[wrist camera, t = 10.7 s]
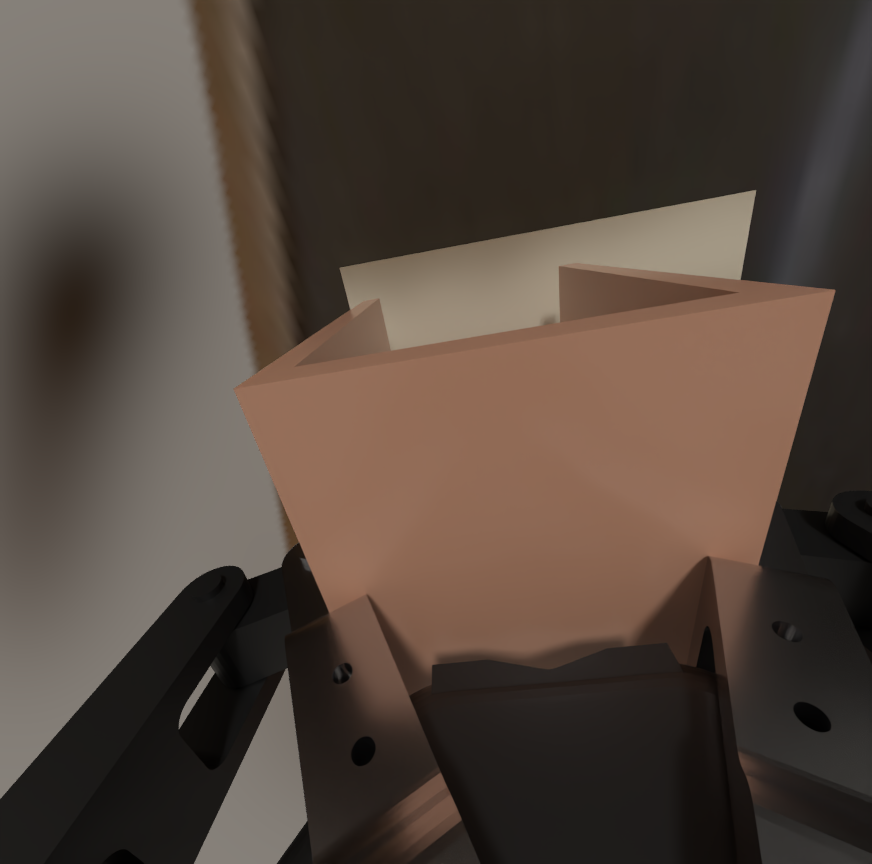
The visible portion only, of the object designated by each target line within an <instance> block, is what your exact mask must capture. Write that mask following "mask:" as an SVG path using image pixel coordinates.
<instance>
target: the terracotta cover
mask: <svg viewBox="0 0 872 864" xmlns="http://www.w3.org/2000/svg"><path fill="white" fill-rule="evenodd" d="M834 294H835V290H831V289H821V288H812V287H802V286H793V285H783V284H773V283H764V282H754V281H745V280H735V279H726V278H716V277H707V276H697V275H688V274H678V273H668V272H659V271H649V270H640V269H630V268H621V267H611V266H602V265H592V264H583V263H572V264H567V265H561V266H559V304H560V323H554V324H548V325H542V326H536V327H530V328H524V329H518V330H512V331H506V332H500V333H494V334H488V335H482V336H476V337H470V338H464V339H458V340H452V341H446V342H440V343H434V344H428V345H422V346H416V347H410V348H404V349H398V350H392V351H391V348H390V344H389V339H388V335H387V330H386V326H385V321H384V317H383V312H382V308H381V303H380V299H379V298H377V299H372V300H366V301H363V302H361V303H360V304H358V305H357V306H355V307H354V308H352V309H351V310H349V311H348V312H346V313H345V314H343V315H342V316H340V317H339V318H337V319H336V320H335V321H333V322H332V323H330V324H329V325H327V326H326V327H324V328H323V329H321V330H320V331H318V332H317V333H315V334H314V335H312V336H311V337H309V338H308V339H306V340H305V341H303V342H302V343H301V344H299V345H298V346H296V347H295V348H293V349H292V350H290V351H289V352H287V353H286V354H284V355H283V356H281V357H280V358H278V359H277V360H275V361H274V362H272V363H271V364H269V365H268V366H267V367H265V368H264V369H262V370H261V371H259V372H258V373H256V374H255V375H253V376H252V377H250V378H249V379H247V380H246V381H244V382H243V383H241V384H240V385H238V386H237V387H235V388H234V391H235V393H236V396H237V398H238V400H239V403H240V405H241V407H242V410H243V412H244V414H245V417H246V419H247V421H248V424H249V426H250V428H251V431H252V433H253V435H254V438H255V440H256V443H257V445H258V447H259V450H260V452H261V454H262V456H263V459H264V461H265V463H266V466H267V468H268V471H269V473H270V475H271V477H272V480H273V482H274V485H275V487H276V489H277V492H278V494H279V496H280V499H281V501H282V503H283V506H284V508H285V510H286V513H287V515H288V517H289V520H290V522H291V524H292V527H293V529H294V531H295V534H296V536H297V538H298V541H299V543H300V545H301V548H302V550H303V552H304V555H305V557H306V559H307V562H308V564H309V566H310V569H311V571H312V573H313V576H314V578H315V580H316V583H317V585H318V587H319V590H320V592H321V594H322V597H323V599H324V601H325V604H326V606H327V608H328V611H329V613H330V612H332V611H334V610H336V609H338V608H340V607H342V606H344V605H346V604H348V603H350V602H352V601H353V600H355V599H357V598H359V597H361V596H363V595H365V594H366V595H367V597H368V599H369V601H370V604H371V606H372V609H373V611H374V613H375V616H376V618H377V621H378V623H379V625H380V628H381V630H382V632H383V635H384V637H385V640H386V642H387V644H388V647H389V649H390V652H391V654H392V656H393V659H394V661H395V664H396V666H397V668H398V671H399V673H400V676H401V678H402V680H403V683H404V685H405V688H406V690H407V692H408V695H409V696H410V695H411V694H413V693H415V692H417V691H419V690H421V689H422V688H425V687H427V686H430V685H432V665H435V664H446V663H456V662H467V661H477V660H493V661H499V662H505V663H511V664H517V665H524V666H530V667H536V668H542V669H554V668H557V667H560V666H562V665H565V664H567V663H570V662H573V661H575V660H578V659H580V658H583V657H586V656H588V655H591V654H593V653H596V652H599V651H601V650H604V649H606V648H615V647H626V646H636V645H647V644H657V643H667V644H668V645H669V647H670V649H671V651H672V652H673V654H674V656H675V658H676V659H677V661H678V663H679V664H685V665H687V660H688V655H689V649H690V644H691V639H692V634H693V629H694V624H695V619H696V614H697V609H698V604H699V599H700V594H701V589H702V584H703V579H704V574H705V569H706V564H707V559H708V556H712V557H717V558H722V559H728V560H733V561H738V562H743V563H749V564H754V565H758V564H759V561H760V557H761V554H762V550H763V547H764V543H765V539H766V536H767V532H768V529H769V525H770V522H771V518H772V514H773V511H774V507H775V504H776V500H777V497H778V493H779V490H780V486H781V482H782V479H783V475H784V472H785V468H786V465H787V461H788V458H789V454H790V450H791V447H792V443H793V440H794V436H795V433H796V429H797V425H798V422H799V418H800V415H801V411H802V408H803V404H804V401H805V397H806V393H807V390H808V386H809V383H810V379H811V376H812V372H813V369H814V365H815V361H816V358H817V354H818V351H819V347H820V344H821V340H822V336H823V333H824V329H825V326H826V322H827V319H828V315H829V312H830V308H831V304H832V301H833V297H834Z"/></svg>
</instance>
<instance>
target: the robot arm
mask: <svg viewBox="0 0 872 864" xmlns="http://www.w3.org/2000/svg"><path fill="white" fill-rule="evenodd" d="M210 666H211V667H212V669H213V670H214V671H215V674H214V675H213V677H212V678H211V680H210V681H209V683H208V685H207V686H206V688H205V689H204V691H203V693H202V694H201V696H200V697H199V699H198V700H197V702H196V704H195V705H194V707H193V708H192V710H191V712H190V713H189V715H188V716H187V718H186V719H185V721H184V723H183V724H182V726H181V727H180V729H178V728H179V719H180V715H181V712H182V710H183V708H184V706H185V704H186V702H187V700H188V699H189V697H190V696H191V694H192V693H193V691H194V690H195V688H196V687H197V685H198V683H199V682H200V681H201V679H202V678H203V676H204V674H205V673H206V671H207V670H208V668H209V667H210ZM286 668H288V674H289V681H290V689H291V697H292V705H293V713H294V720H295V728H296V736H297V744H298V751H299V759H300V767H301V774H302V782H303V790H304V798H305V806H306V813H307V822H306V824H305V825H304V826H303V828H302V829H301V831H300V832H299V833H298V835H297V836H296V838H295V839H294V841H293V842H292V843H291V845H290V846H289V847H288V849H287V850H286V851H285V853H284V854H283V856H282V857H281V858H280V860H279V861H278V863H277V864H872V491H848V492H843V493H840V494H838V495H836V496H835V497H834V498H833V501H832V503H831V506H830V509H829V512H818V511H804V510H791V509H782V507H781V506H780V504H779V503H778V502H777V501H776V504H775V507H774V511H773V514H772V518H771V522H770V525H769V529H768V532H767V536H766V539H765V543H764V547H763V550H762V554H761V557H760V561H759V564H758V565H754V564H749V563H743V562H738V561H733V560H728V559H722V558H717V557H712V556H708V559H707V564H706V569H705V574H704V579H703V584H702V589H701V594H700V599H699V604H698V609H697V614H696V619H695V624H694V629H693V634H692V639H691V644H690V649H689V655H688V660H687V665H685V664H679V663H678V661H677V659H676V658H675V656H674V654H673V652H672V651H671V649H670V647H669V645H668V644H667V643H657V644H647V645H636V646H626V647H615V648H606V649H604V650H601V651H599V652H596V653H593V654H591V655H588V656H586V657H583V658H580V659H578V660H575V661H573V662H570V663H567V664H565V665H562V666H560V667H557V668H554V669H542V668H536V667H530V666H524V665H517V664H511V663H505V662H499V661H493V660H477V661H467V662H456V663H446V664H435V665H432V685H430V686H427V687H425V688H422V689H421V690H419V691H417V692H415V693H413V694H411V695H410V696H409V695H408V692H407V690H406V688H405V685H404V683H403V680H402V678H401V676H400V673H399V671H398V668H397V666H396V664H395V661H394V659H393V656H392V654H391V652H390V649H389V647H388V644H387V642H386V640H385V637H384V635H383V632H382V630H381V628H380V625H379V623H378V621H377V618H376V616H375V613H374V611H373V609H372V606H371V604H370V601H369V599H368V597H367V595H366V594H365V595H363V596H361V597H359V598H357V599H355V600H353V601H352V602H350V603H348V604H346V605H344V606H342V607H340V608H338V609H336V610H334V611H332V612H330V613H329V611H328V608H327V606H326V604H325V601H324V599H323V597H322V594H321V592H320V590H319V587H318V585H317V583H316V580H315V578H314V576H313V573H312V571H311V569H310V566H309V564H308V562H307V559H306V557H305V555H304V552H303V550H302V548H301V545H300V543H298V544H296V545H295V546H294V547H293V548H292V549H291V550H290V551H289V552H288V553H287V554H286V556H285V557H284V559H283V562H282V567H281V568H278V569H276V570H273V571H270V572H268V573H265V574H262V575H259V576H257V577H254V578H251V579H248V580H247V578H246V576H245V574H244V572H243V571H242V570H241V569H240V568H239V567H236V566H224V567H220V568H217V569H213V570H211V571H209V572H207V573H205V574H203V575H201V576H200V577H198V578H196V579H195V580H194V581H193V582H191V583H190V584H189V585H188V586H187V587H186V588H184V590H182V592H181V593H180V594H179V595H178V596H177V597H176V598H175V600H174V601H173V602H172V603H171V604H170V605H169V606H168V608H167V609H166V610H165V611H164V612H163V613H162V615H161V616H160V617H159V618H158V619H157V620H156V621H155V623H154V624H153V625H152V626H151V627H150V628H149V629H148V631H147V632H146V633H145V634H144V635H143V636H142V637H141V639H140V640H139V641H138V642H137V643H136V644H135V645H134V647H133V648H132V649H131V650H130V651H129V652H128V653H127V655H126V656H125V657H124V658H123V659H122V660H121V662H120V663H119V664H118V665H117V666H116V667H115V668H114V669H113V671H112V672H111V673H110V674H109V675H108V676H107V678H106V679H105V680H104V681H103V682H102V683H101V684H100V686H99V687H98V688H97V689H96V690H95V691H94V693H93V694H92V695H91V696H90V697H89V698H88V699H87V700H86V702H85V703H84V704H83V705H82V706H81V707H80V708H79V710H78V711H77V712H76V713H75V714H74V715H73V716H72V718H71V719H70V720H69V721H68V722H67V723H66V725H65V726H64V727H63V728H62V729H61V730H60V731H59V732H58V734H57V735H56V736H55V737H54V738H53V739H52V741H51V742H50V743H49V744H48V745H47V746H46V747H45V749H44V750H43V751H42V752H41V753H40V754H39V756H38V757H37V758H36V759H35V760H34V761H33V762H32V763H31V765H30V766H29V767H28V768H27V769H26V770H25V772H24V773H23V774H22V775H21V776H20V777H19V778H18V780H17V781H16V782H15V783H14V784H13V785H12V786H11V788H10V789H9V790H8V791H7V792H6V793H5V794H4V796H3V797H2V798H1V799H0V864H194V862H195V860H196V858H197V856H198V854H199V851H200V849H201V847H202V845H203V842H204V841H205V839H206V837H207V834H208V832H209V830H210V828H211V826H212V824H213V821H214V820H215V818H216V815H217V813H218V811H219V809H220V807H221V805H222V803H223V801H224V798H225V796H226V794H227V792H228V790H229V788H230V786H231V784H232V781H233V779H234V777H235V775H236V773H237V771H238V769H239V767H240V765H241V762H242V760H243V758H244V756H245V754H246V752H247V750H248V748H249V746H250V743H251V741H252V739H253V737H254V735H255V733H256V731H257V729H258V726H259V724H260V722H261V720H262V718H263V716H264V714H265V712H266V710H267V707H268V705H269V703H270V701H271V699H272V697H273V695H274V693H275V690H276V688H277V686H278V684H279V682H280V680H281V678H282V676H283V673H284V671H285V669H286Z"/></svg>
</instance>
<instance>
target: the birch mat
mask: <svg viewBox="0 0 872 864" xmlns="http://www.w3.org/2000/svg"><path fill="white" fill-rule="evenodd" d="M755 193H756V190H754V191H749V192H743V193H738V194H733V195H727V196H722V197H717V198H711V199H706V200H701V201H695V202H690V203H684V204H679V205H674V206H668V207H663V208H658V209H652V210H647V211H642V212H636V213H631V214H626V215H620V216H615V217H609V218H604V219H599V220H593V221H588V222H583V223H577V224H572V225H567V226H561V227H556V228H551V229H545V230H540V231H534V232H529V233H524V234H518V235H513V236H508V237H502V238H497V239H492V240H486V241H481V242H475V243H470V244H465V245H459V246H454V247H449V248H443V249H438V250H433V251H427V252H422V253H417V254H411V255H406V256H400V257H395V258H390V259H384V260H379V261H374V262H368V263H363V264H358V265H352V266H347V267H342V268H340V271H341V275H342V279H343V283H344V286H345V290H346V294H347V298H348V302H349V306H350V310H351V309H352V308H354V307H355V306H357V305H358V304H360V303H361V302H363V301H366V300H372V299H377V298H379V299H380V303H381V308H382V312H383V317H384V321H385V326H386V330H387V335H388V339H389V344H390V348H391V351H392V350H398V349H404V348H410V347H416V346H422V345H428V344H434V343H440V342H446V341H452V340H458V339H464V338H470V337H476V336H482V335H488V334H494V333H500V332H506V331H512V330H518V329H524V328H530V327H536V326H542V325H548V324H554V323H560V304H559V266H561V265H567V264H572V263H583V264H592V265H602V266H611V267H621V268H630V269H640V270H649V271H659V272H668V273H678V274H688V275H697V276H707V277H716V278H726V279H735V280H740V279H741V273H742V268H743V262H744V256H745V251H746V245H747V239H748V233H749V228H750V222H751V216H752V211H753V205H754V199H755Z"/></svg>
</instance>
